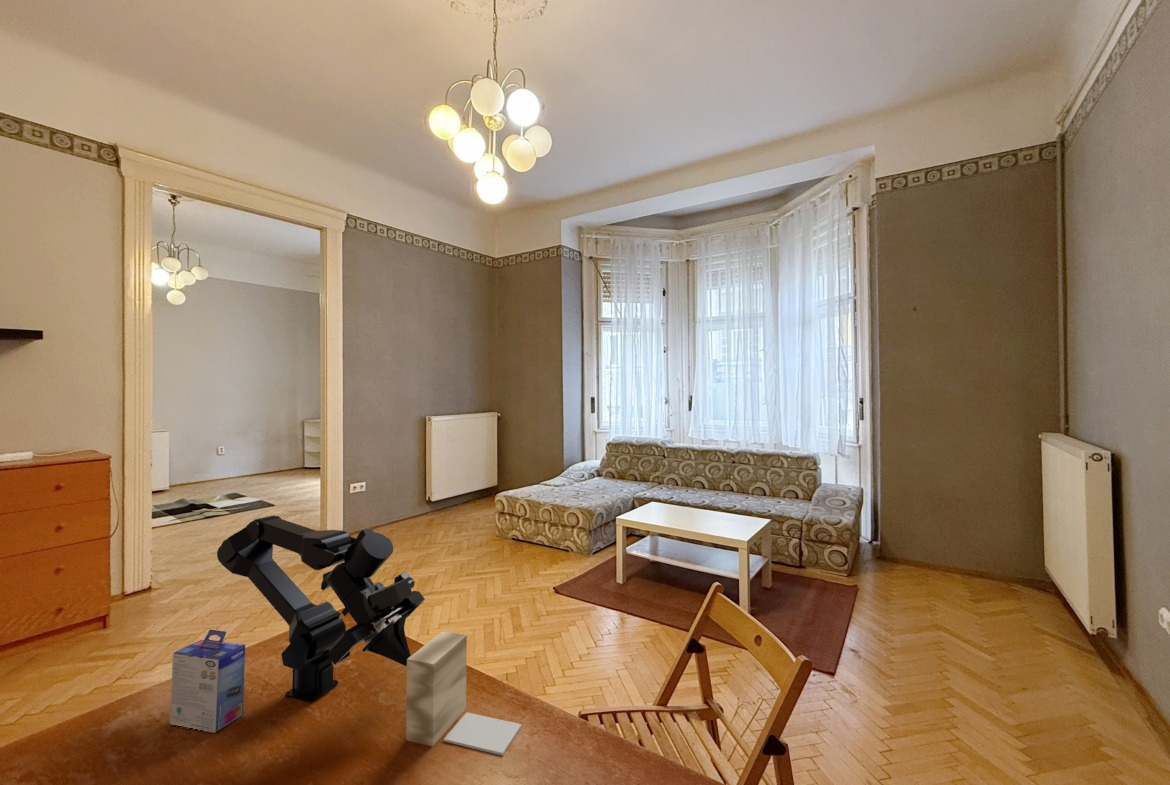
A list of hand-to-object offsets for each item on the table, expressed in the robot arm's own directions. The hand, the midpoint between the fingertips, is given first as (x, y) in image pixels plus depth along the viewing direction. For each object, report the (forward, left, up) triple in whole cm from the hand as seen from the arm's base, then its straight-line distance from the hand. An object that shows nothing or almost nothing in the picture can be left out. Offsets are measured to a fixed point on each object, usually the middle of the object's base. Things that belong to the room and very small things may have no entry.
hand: (408, 663), depth 85 cm
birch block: (+6, 0, -9) cm, 11 cm away
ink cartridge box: (-32, -11, -9) cm, 35 cm away
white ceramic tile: (+15, 0, -9) cm, 17 cm away
